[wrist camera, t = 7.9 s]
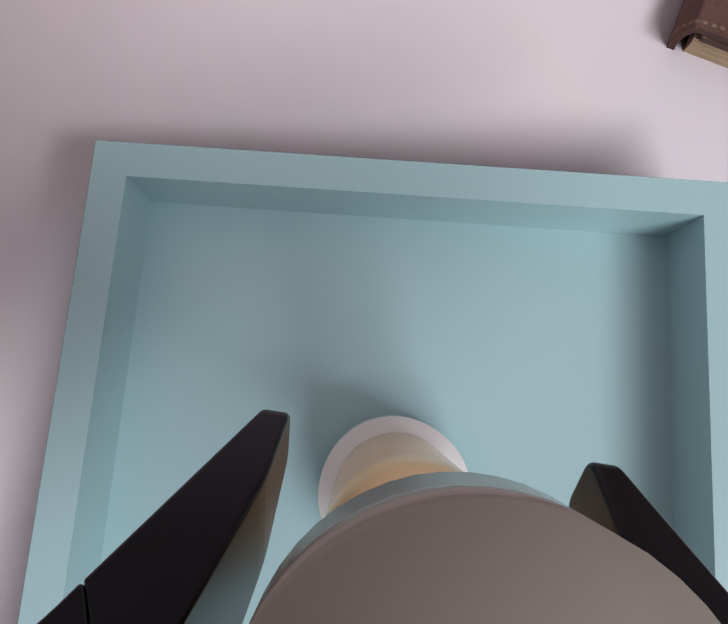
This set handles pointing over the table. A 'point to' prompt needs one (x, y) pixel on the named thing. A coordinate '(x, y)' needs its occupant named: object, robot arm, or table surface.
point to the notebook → (703, 30)
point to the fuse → (457, 547)
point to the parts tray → (381, 335)
